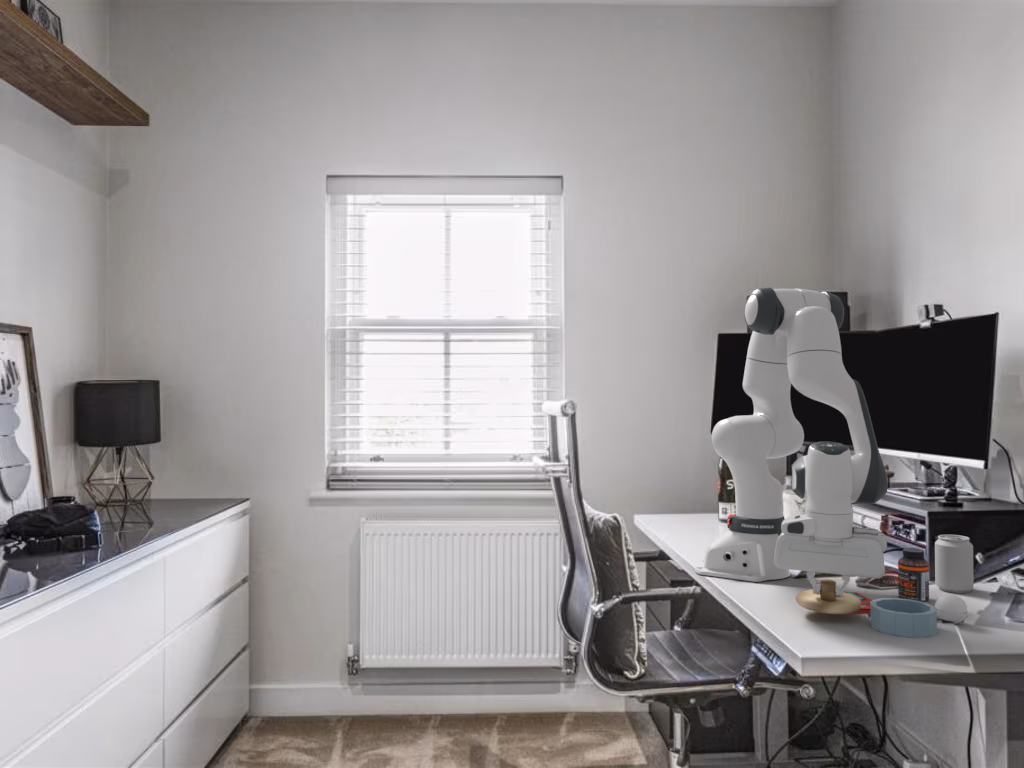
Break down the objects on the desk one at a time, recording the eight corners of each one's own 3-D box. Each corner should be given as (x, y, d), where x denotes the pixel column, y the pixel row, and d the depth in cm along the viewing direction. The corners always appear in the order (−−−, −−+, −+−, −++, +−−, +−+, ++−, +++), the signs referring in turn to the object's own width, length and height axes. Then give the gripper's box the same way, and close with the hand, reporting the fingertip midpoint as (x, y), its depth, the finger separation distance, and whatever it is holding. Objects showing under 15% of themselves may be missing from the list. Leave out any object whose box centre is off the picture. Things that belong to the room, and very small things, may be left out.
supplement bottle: (892, 602, 169) (892, 549, 169) (905, 597, 173) (904, 545, 173) (922, 608, 164) (921, 553, 164) (934, 603, 168) (933, 549, 168)
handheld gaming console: (846, 608, 158) (814, 591, 173) (846, 614, 158) (815, 596, 173) (891, 608, 159) (856, 591, 174) (891, 614, 159) (856, 596, 174)
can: (978, 594, 174) (978, 540, 174) (941, 593, 176) (941, 539, 176) (966, 586, 182) (965, 533, 182) (930, 584, 183) (930, 532, 183)
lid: (792, 609, 154) (792, 587, 154) (798, 590, 165) (799, 569, 165) (860, 617, 149) (860, 595, 149) (862, 597, 160) (862, 576, 159)
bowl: (871, 638, 146) (870, 610, 146) (870, 621, 156) (870, 595, 156) (938, 645, 141) (938, 617, 141) (933, 627, 151) (933, 601, 151)
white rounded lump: (932, 617, 158) (932, 589, 158) (965, 620, 156) (965, 592, 156) (937, 629, 151) (937, 599, 151) (972, 632, 149) (971, 602, 149)
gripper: (887, 526, 155) (886, 597, 155) (777, 518, 164) (776, 585, 164) (887, 533, 149) (886, 606, 150) (773, 523, 158) (772, 593, 158)
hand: (828, 595), depth 157 cm, fingers closed on lid, 3 cm apart
